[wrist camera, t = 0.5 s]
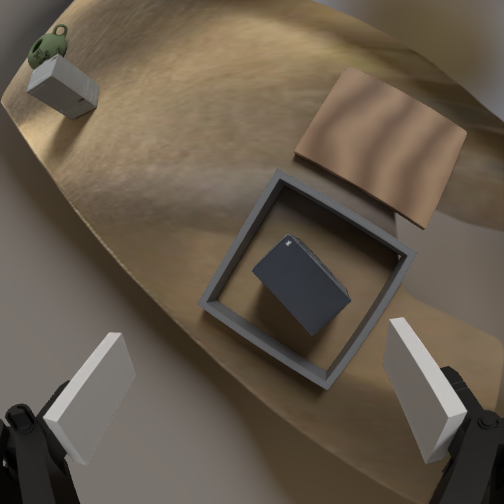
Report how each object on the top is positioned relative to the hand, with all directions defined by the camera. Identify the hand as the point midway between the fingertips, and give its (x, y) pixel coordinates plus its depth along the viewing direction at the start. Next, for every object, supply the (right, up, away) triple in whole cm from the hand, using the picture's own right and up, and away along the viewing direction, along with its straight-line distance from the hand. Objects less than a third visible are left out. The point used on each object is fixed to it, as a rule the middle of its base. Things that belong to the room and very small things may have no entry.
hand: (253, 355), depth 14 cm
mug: (-57, +63, +49) cm, 98 cm away
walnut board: (+20, +21, +27) cm, 40 cm away
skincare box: (-37, +39, +43) cm, 69 cm away
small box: (+8, +1, +30) cm, 31 cm away
